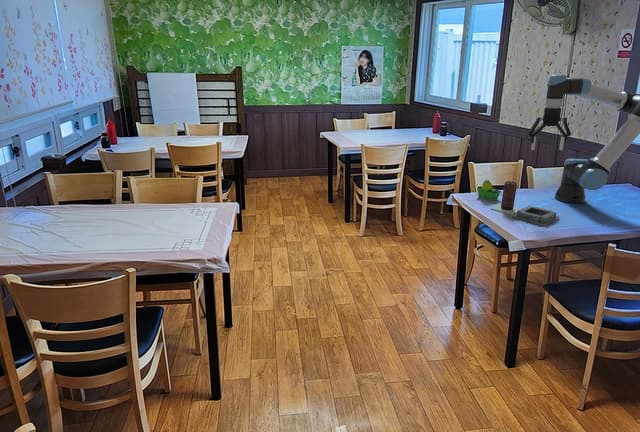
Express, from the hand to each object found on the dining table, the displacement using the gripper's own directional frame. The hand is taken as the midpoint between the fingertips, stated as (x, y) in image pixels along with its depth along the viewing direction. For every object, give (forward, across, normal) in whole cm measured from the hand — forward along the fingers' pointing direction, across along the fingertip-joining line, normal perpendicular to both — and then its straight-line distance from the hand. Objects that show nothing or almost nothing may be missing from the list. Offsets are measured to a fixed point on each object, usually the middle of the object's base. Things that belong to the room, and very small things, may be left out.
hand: (546, 149), depth 232 cm
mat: (+30, +18, +8) cm, 36 cm away
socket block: (+30, +7, +20) cm, 37 cm away
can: (+30, +18, +8) cm, 36 cm away
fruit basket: (+30, +24, -11) cm, 40 cm away
